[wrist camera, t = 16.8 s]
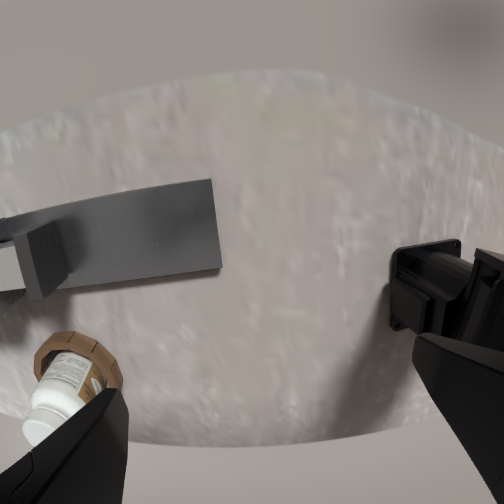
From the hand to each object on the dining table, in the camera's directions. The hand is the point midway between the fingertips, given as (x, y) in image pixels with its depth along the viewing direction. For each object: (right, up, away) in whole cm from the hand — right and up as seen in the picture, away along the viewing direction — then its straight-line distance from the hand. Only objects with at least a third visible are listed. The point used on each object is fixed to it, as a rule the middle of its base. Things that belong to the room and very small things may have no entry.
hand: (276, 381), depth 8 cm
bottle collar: (-14, -5, +12) cm, 19 cm away
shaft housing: (-15, +4, +9) cm, 18 cm away
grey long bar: (-20, +3, +8) cm, 21 cm away
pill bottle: (-14, -5, +12) cm, 19 cm away
